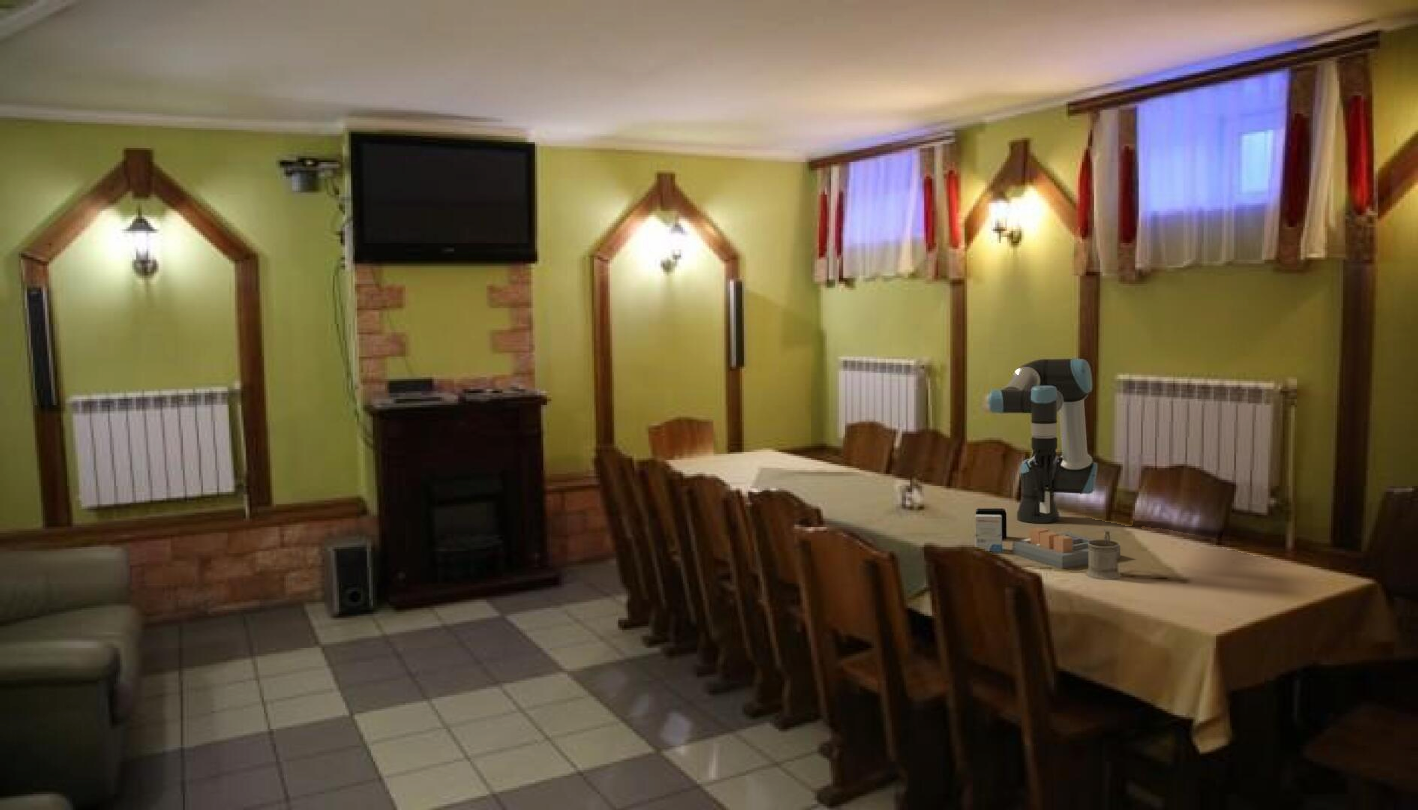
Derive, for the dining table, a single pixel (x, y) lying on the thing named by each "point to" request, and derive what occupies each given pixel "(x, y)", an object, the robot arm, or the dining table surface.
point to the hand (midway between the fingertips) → (1044, 512)
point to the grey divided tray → (1056, 552)
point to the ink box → (988, 532)
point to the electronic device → (995, 512)
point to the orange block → (1063, 544)
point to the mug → (1103, 559)
